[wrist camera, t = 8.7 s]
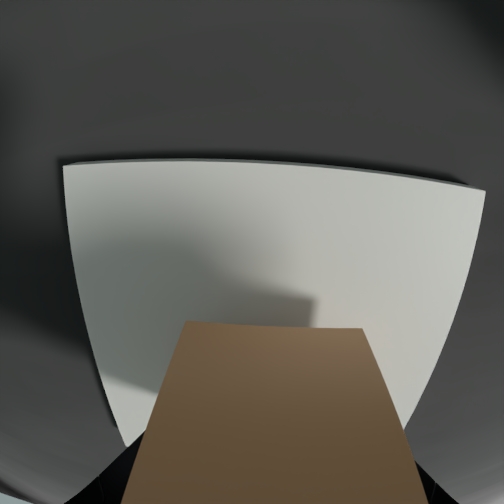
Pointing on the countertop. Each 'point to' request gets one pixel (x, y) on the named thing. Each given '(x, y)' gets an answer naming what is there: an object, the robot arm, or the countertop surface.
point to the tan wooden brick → (273, 422)
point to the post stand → (263, 262)
